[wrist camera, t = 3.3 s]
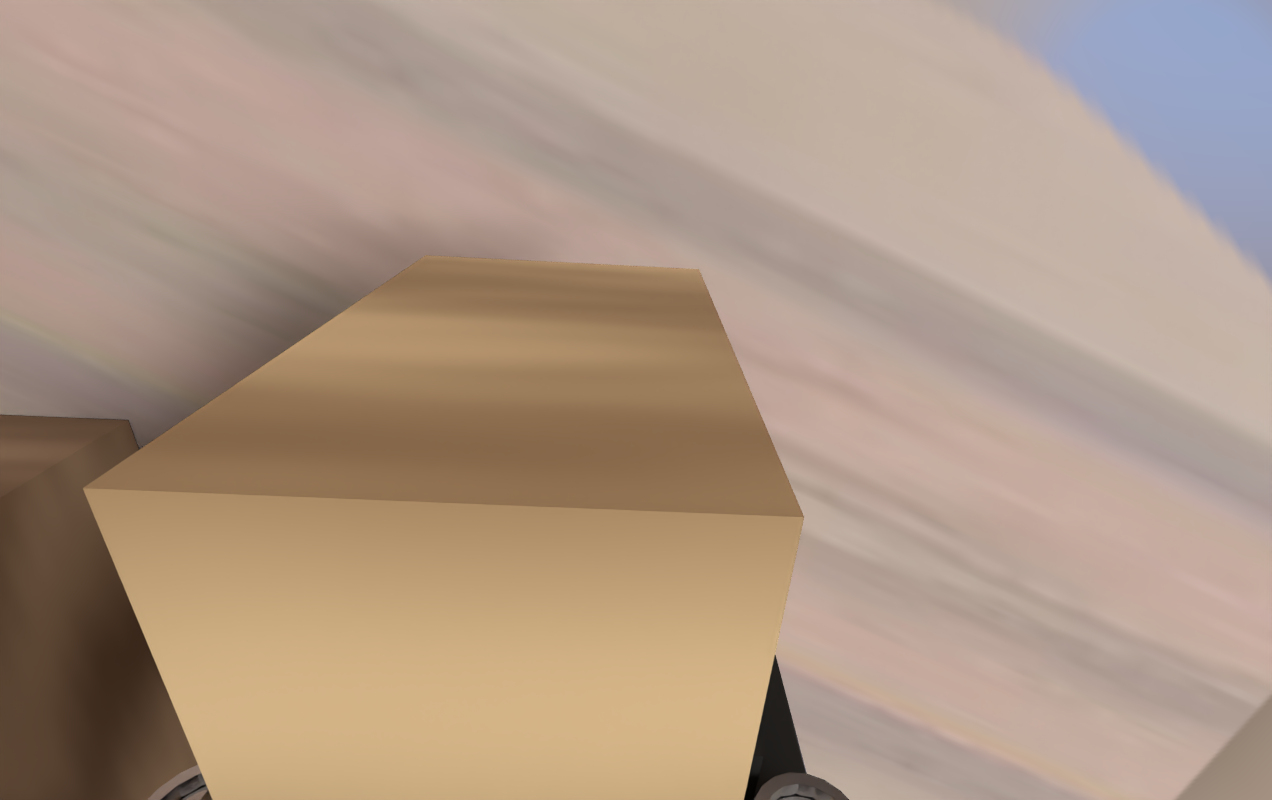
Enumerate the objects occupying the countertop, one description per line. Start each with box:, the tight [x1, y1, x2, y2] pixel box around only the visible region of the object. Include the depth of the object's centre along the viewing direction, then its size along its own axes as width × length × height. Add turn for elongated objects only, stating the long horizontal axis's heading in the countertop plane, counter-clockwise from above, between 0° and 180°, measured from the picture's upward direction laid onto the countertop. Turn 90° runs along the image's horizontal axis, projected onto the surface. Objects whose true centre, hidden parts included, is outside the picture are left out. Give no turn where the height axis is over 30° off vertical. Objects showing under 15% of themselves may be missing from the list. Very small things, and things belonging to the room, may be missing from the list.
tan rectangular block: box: [83, 255, 804, 800], centre depth 11 cm, size 11×4×11 cm, turn 177°
